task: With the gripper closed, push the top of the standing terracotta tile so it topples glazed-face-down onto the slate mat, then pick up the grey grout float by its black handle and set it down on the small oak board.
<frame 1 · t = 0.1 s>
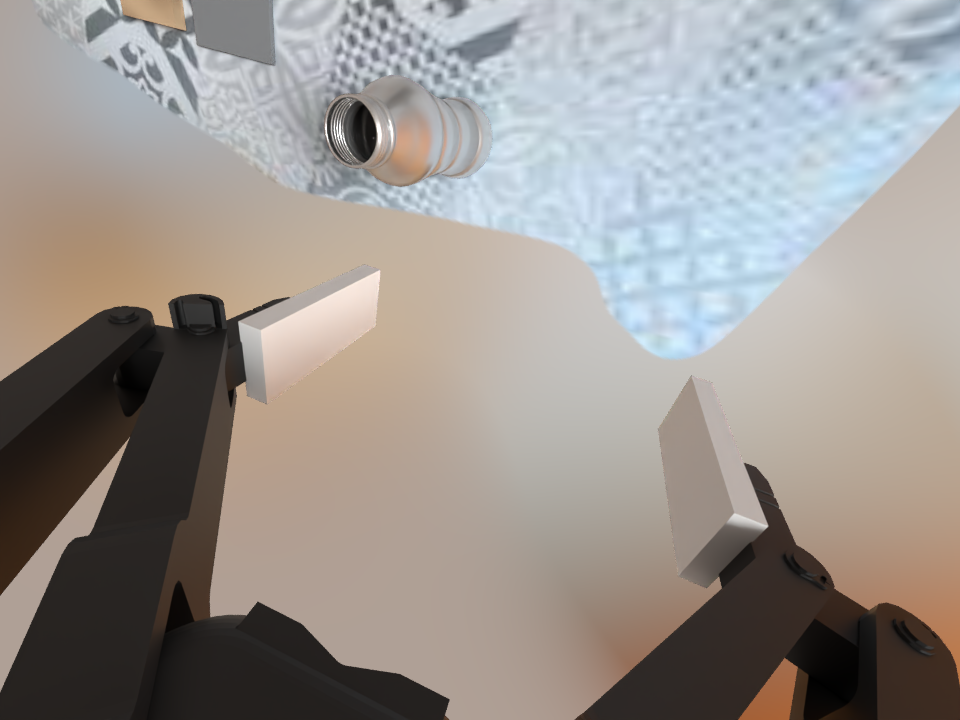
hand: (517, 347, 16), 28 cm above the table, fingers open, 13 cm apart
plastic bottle: (467, 139, 39), on the table
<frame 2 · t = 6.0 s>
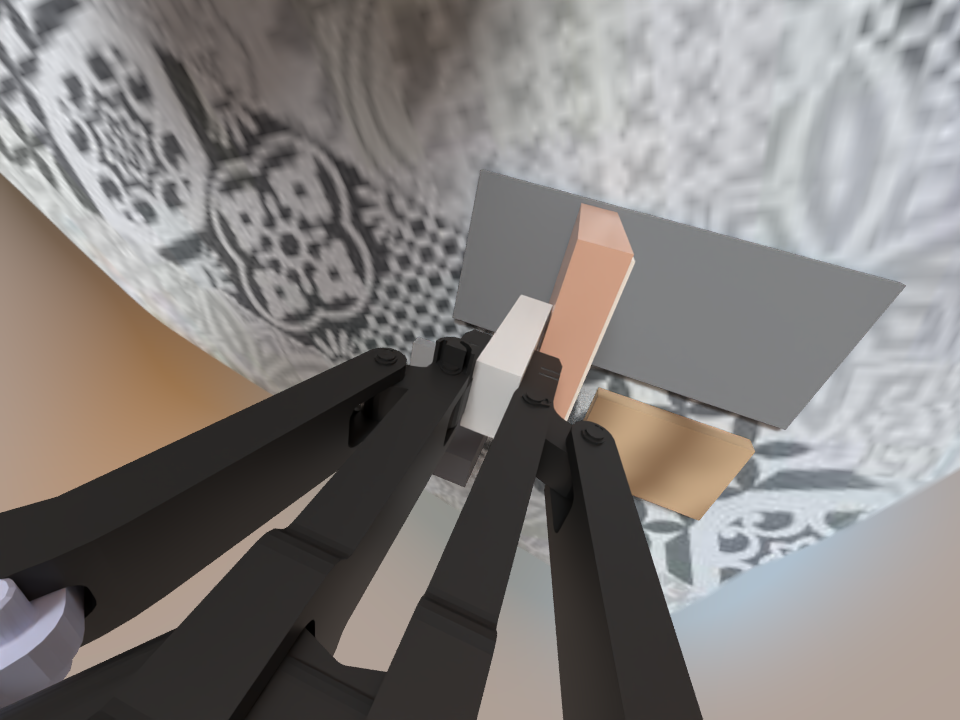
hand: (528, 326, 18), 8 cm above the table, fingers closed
mat: (637, 301, 23), on the table
board: (649, 449, 28), on the table
grout float: (468, 382, 30), on the table
tile: (572, 284, 24), point 1 cm above the table, touching gripper, mat
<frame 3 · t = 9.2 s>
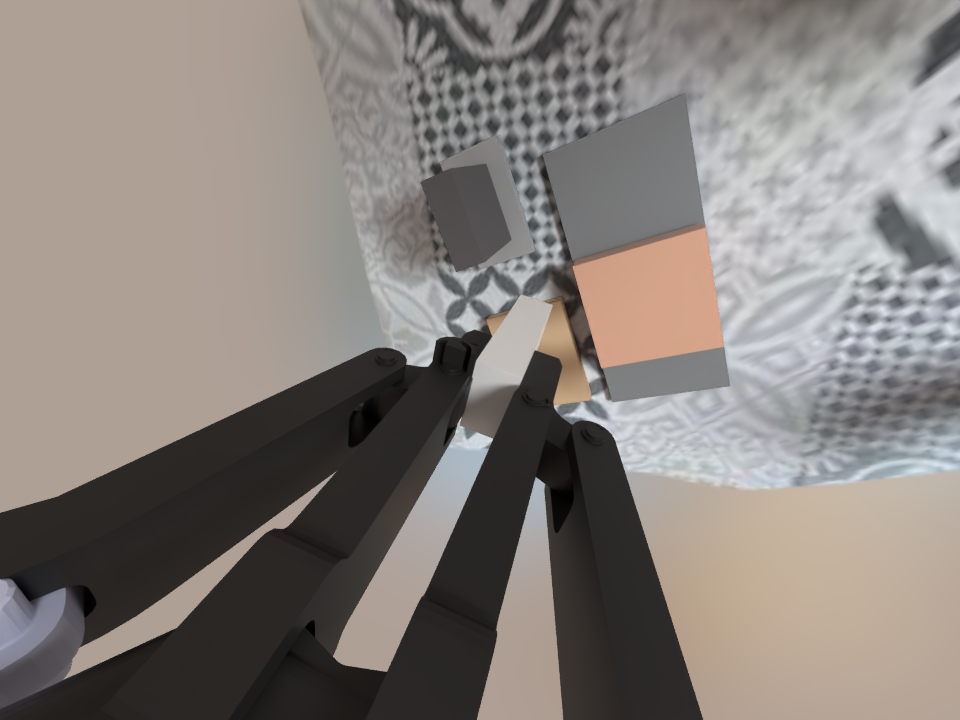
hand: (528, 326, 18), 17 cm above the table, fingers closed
mat: (641, 275, 31), on the table
board: (540, 354, 37), on the table
grout float: (490, 206, 32), on the table
tile: (634, 245, 29), point 2 cm above the table, tilted 90°, touching mat
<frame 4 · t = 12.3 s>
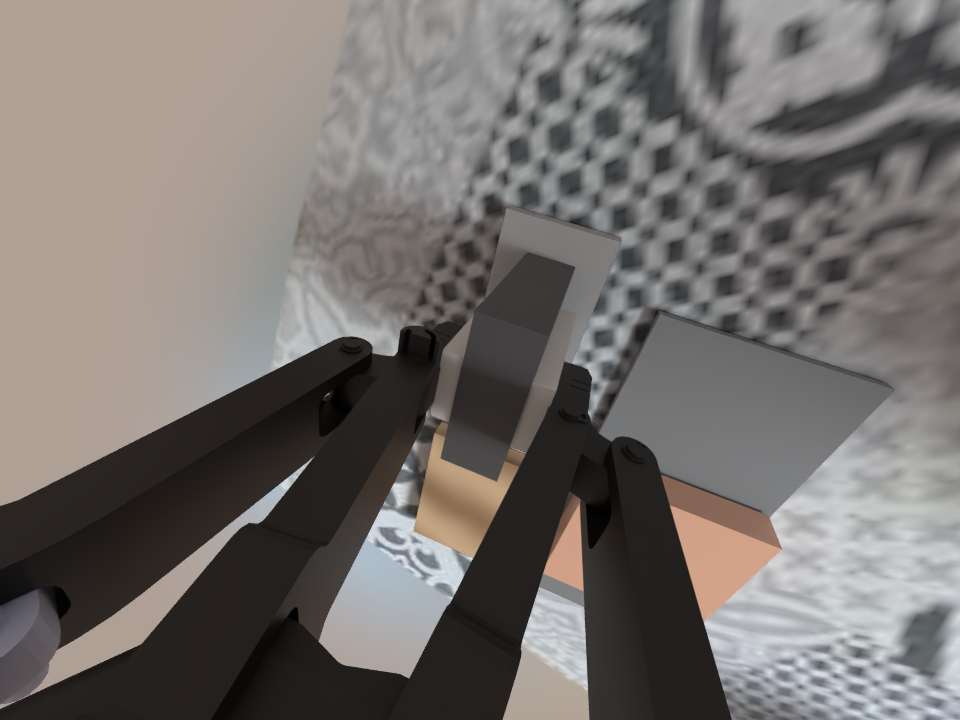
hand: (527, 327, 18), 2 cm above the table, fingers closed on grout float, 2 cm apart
mat: (654, 505, 23), on the table
board: (476, 493, 27), on the table
grout float: (535, 312, 20), on the table, touching gripper
tile: (682, 495, 20), point 2 cm above the table, tilted 90°, touching mat
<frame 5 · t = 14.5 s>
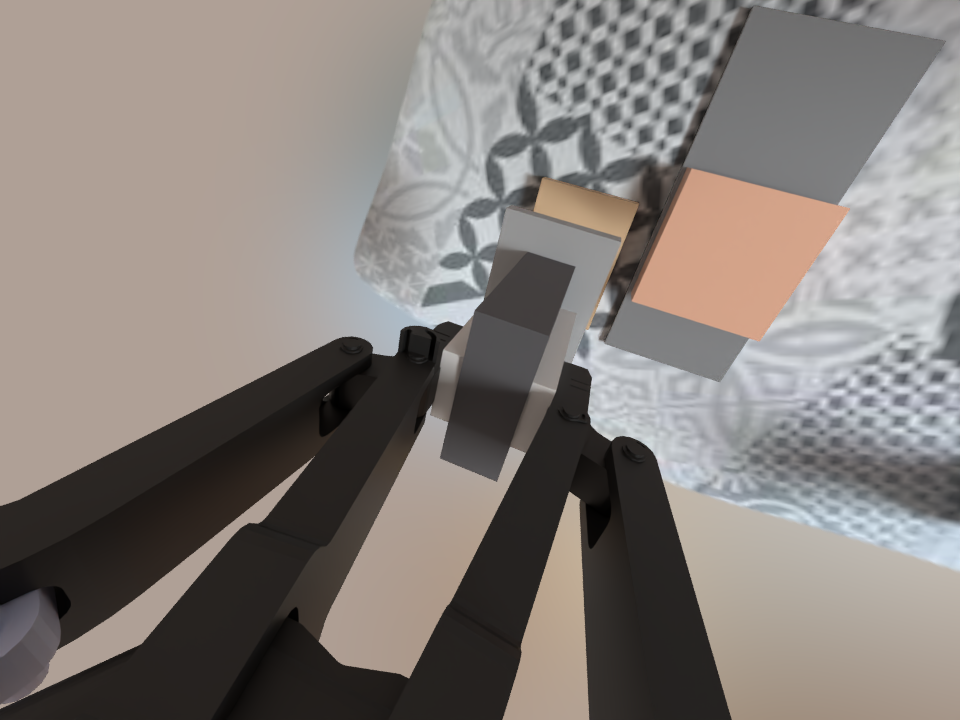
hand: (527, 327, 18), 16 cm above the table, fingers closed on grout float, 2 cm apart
mat: (732, 227, 27), on the table
board: (568, 255, 31), on the table
grout float: (535, 311, 20), point 14 cm above the table, touching gripper
tile: (763, 186, 24), point 2 cm above the table, tilted 90°, touching mat
when the fingers open (5 cm above the table, at t = 16.6 s): grout float drops 1 cm, resting on board.
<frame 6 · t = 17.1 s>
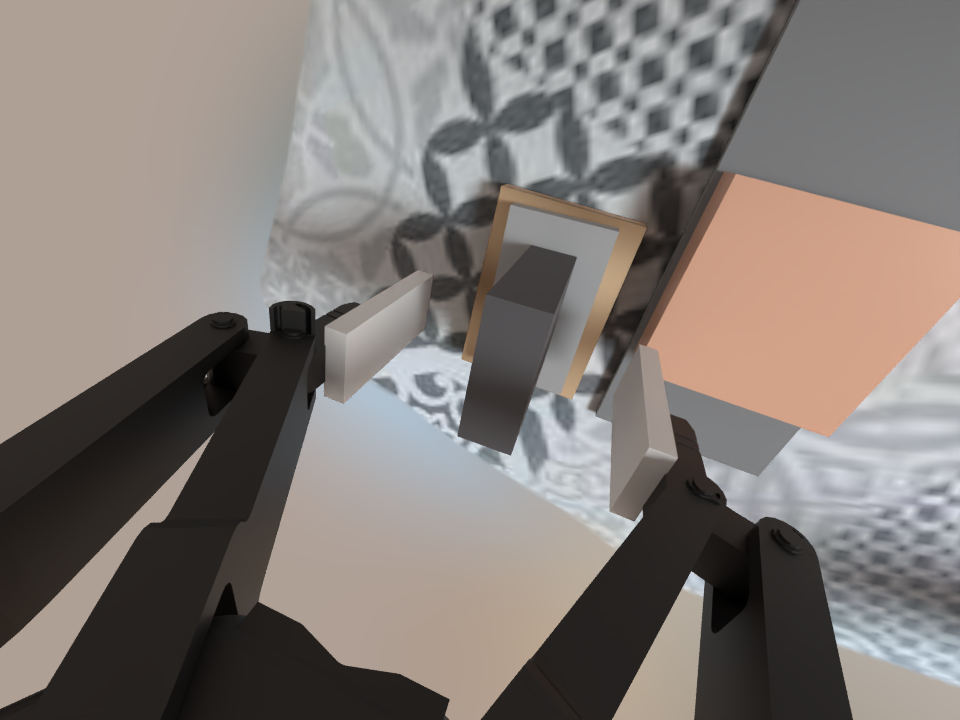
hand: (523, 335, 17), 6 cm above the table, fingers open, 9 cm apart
mat: (788, 264, 18), on the table
board: (543, 296, 22), on the table
grout float: (541, 302, 21), point 1 cm above the table, touching board
tile: (852, 204, 15), point 2 cm above the table, tilted 90°, touching mat
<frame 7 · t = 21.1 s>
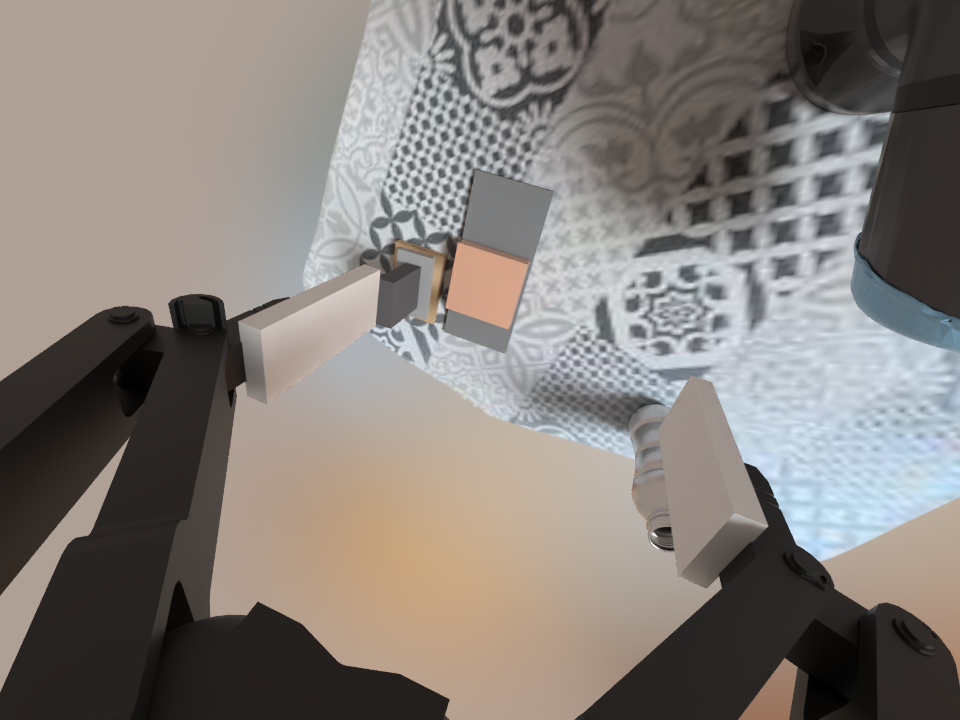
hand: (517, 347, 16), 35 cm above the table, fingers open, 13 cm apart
mat: (492, 269, 51), on the table
board: (418, 281, 55), on the table
grout float: (414, 283, 54), point 1 cm above the table, touching board
tile: (494, 251, 48), point 2 cm above the table, tilted 90°, touching mat
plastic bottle: (653, 417, 54), on the table
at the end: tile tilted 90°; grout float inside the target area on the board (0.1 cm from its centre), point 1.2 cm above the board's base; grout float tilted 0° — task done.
